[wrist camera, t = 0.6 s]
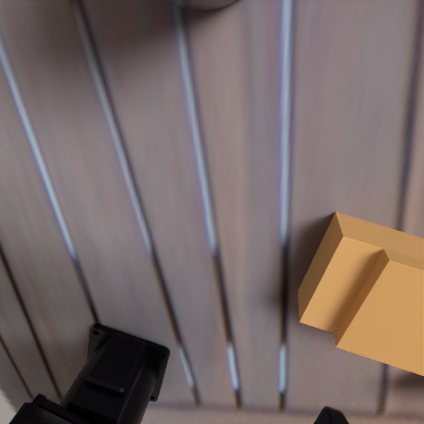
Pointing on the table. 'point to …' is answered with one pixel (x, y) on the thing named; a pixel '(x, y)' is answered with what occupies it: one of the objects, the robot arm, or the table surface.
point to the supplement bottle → (201, 4)
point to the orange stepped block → (368, 292)
